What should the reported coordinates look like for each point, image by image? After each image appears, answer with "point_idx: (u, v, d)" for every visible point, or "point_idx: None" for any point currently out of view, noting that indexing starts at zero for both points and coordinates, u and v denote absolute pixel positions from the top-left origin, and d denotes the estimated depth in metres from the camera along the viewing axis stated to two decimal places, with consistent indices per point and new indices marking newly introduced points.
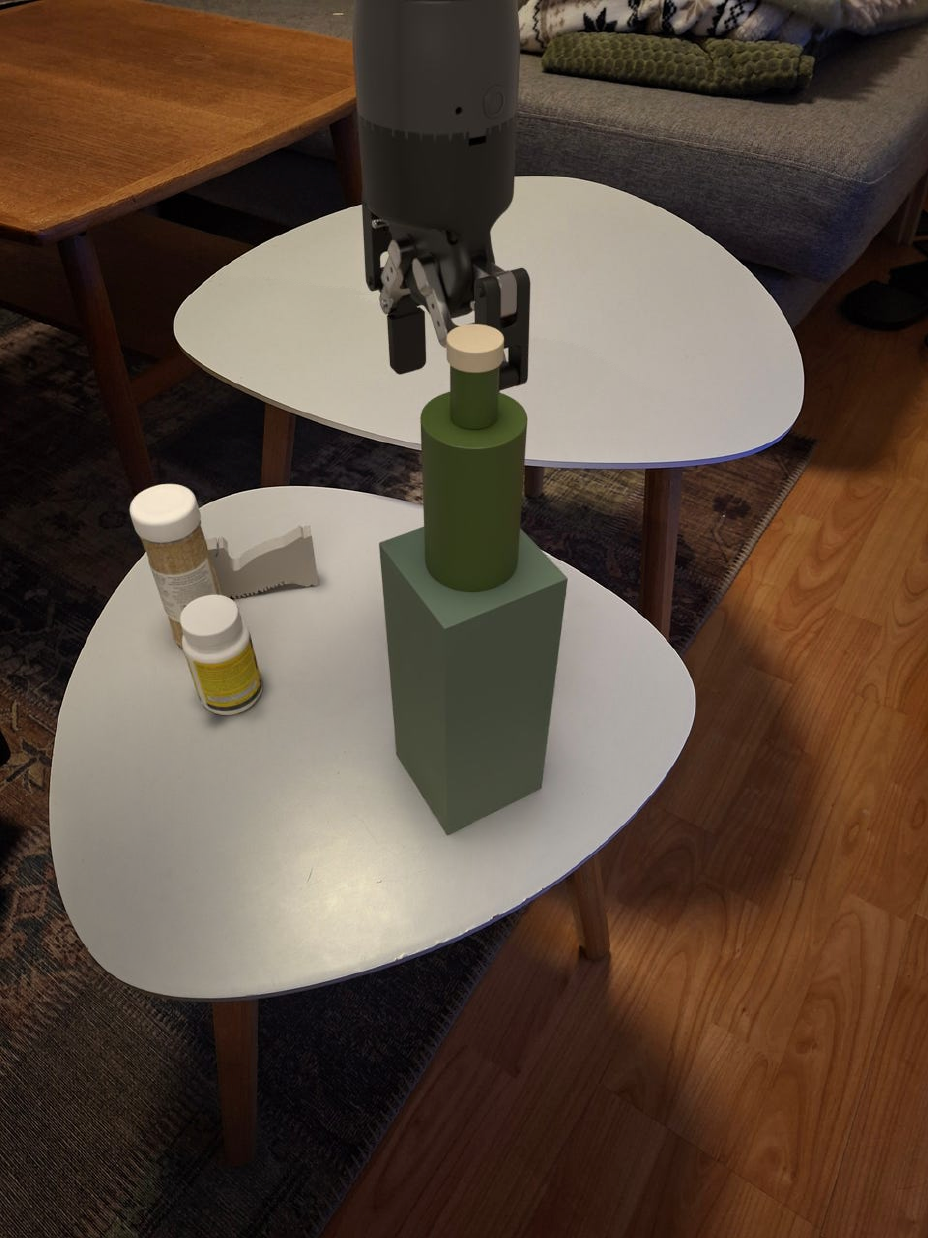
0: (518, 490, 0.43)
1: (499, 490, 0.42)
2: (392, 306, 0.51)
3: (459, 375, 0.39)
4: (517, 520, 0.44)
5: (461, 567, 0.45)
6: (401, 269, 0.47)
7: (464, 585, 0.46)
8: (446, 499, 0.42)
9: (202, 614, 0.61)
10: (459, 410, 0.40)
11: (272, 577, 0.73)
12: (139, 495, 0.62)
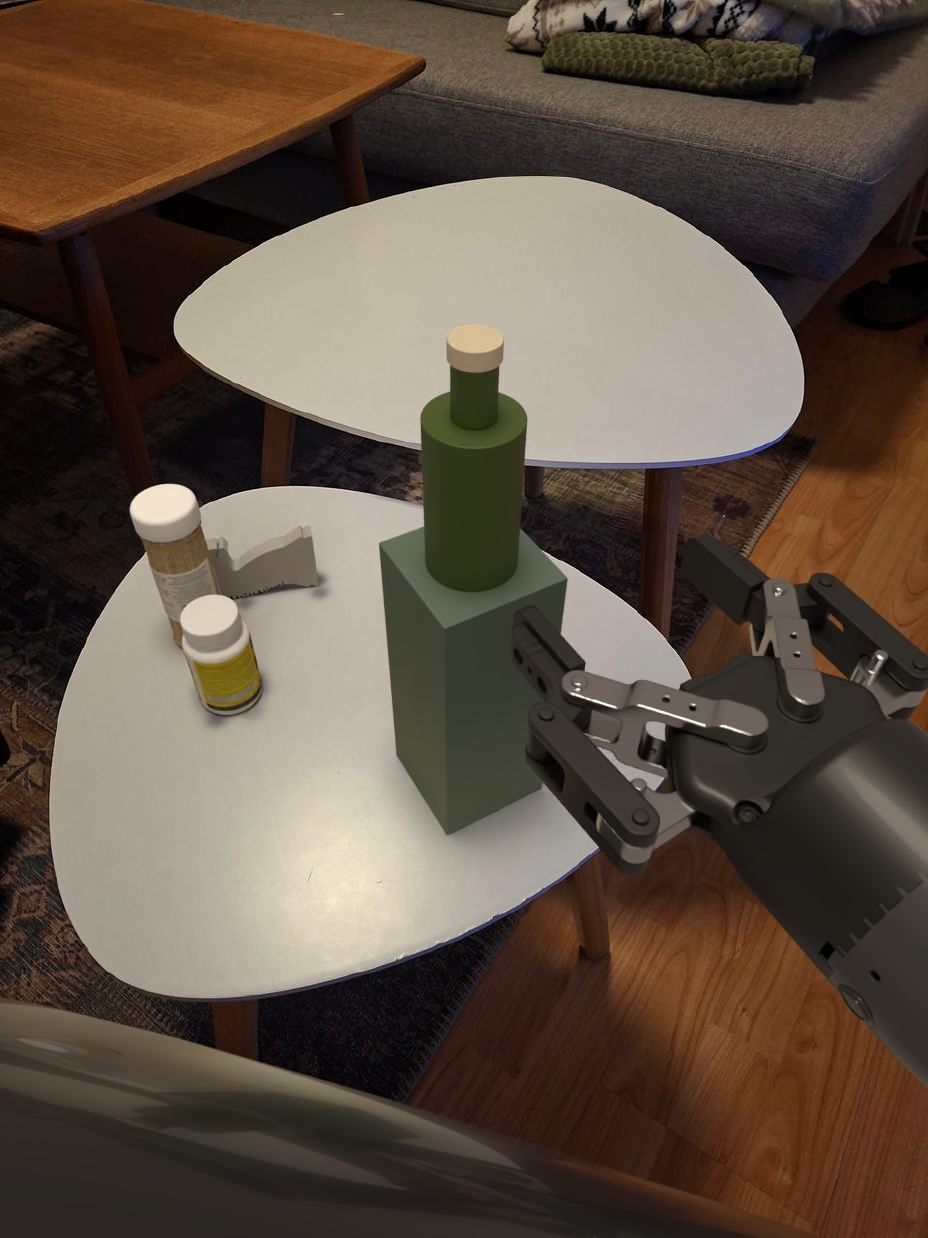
0: (518, 490, 0.43)
1: (499, 490, 0.42)
2: (764, 602, 0.34)
3: (459, 375, 0.39)
4: (517, 520, 0.44)
5: (461, 567, 0.45)
6: (782, 676, 0.30)
7: (464, 585, 0.46)
8: (446, 499, 0.42)
9: (202, 614, 0.61)
10: (459, 410, 0.40)
11: (272, 577, 0.73)
12: (139, 495, 0.62)
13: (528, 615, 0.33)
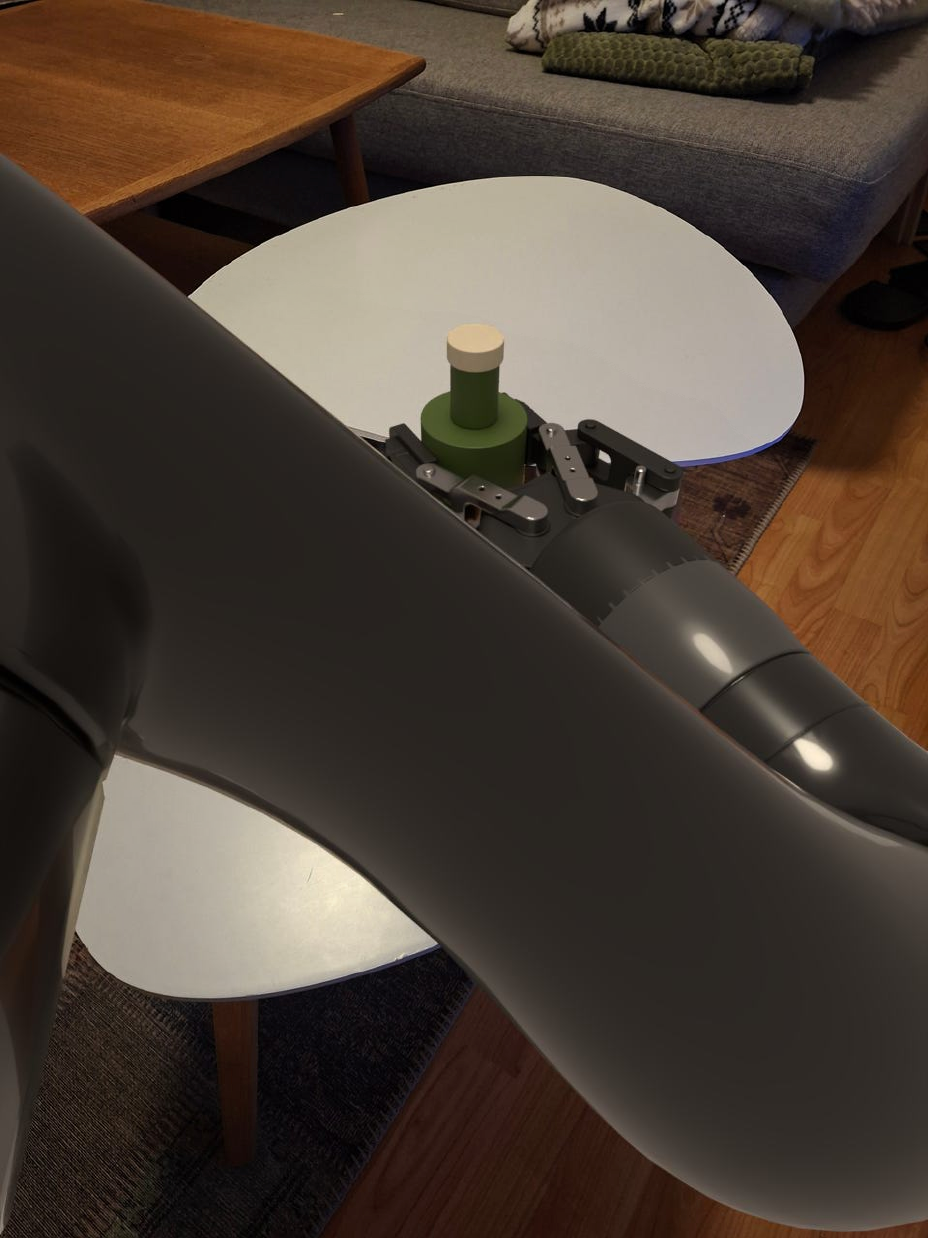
0: None
1: None
2: (542, 441, 0.41)
3: (459, 375, 0.39)
4: None
5: None
6: (564, 487, 0.38)
7: None
8: (446, 499, 0.42)
9: None
10: (459, 410, 0.40)
11: None
12: None
13: (398, 429, 0.42)
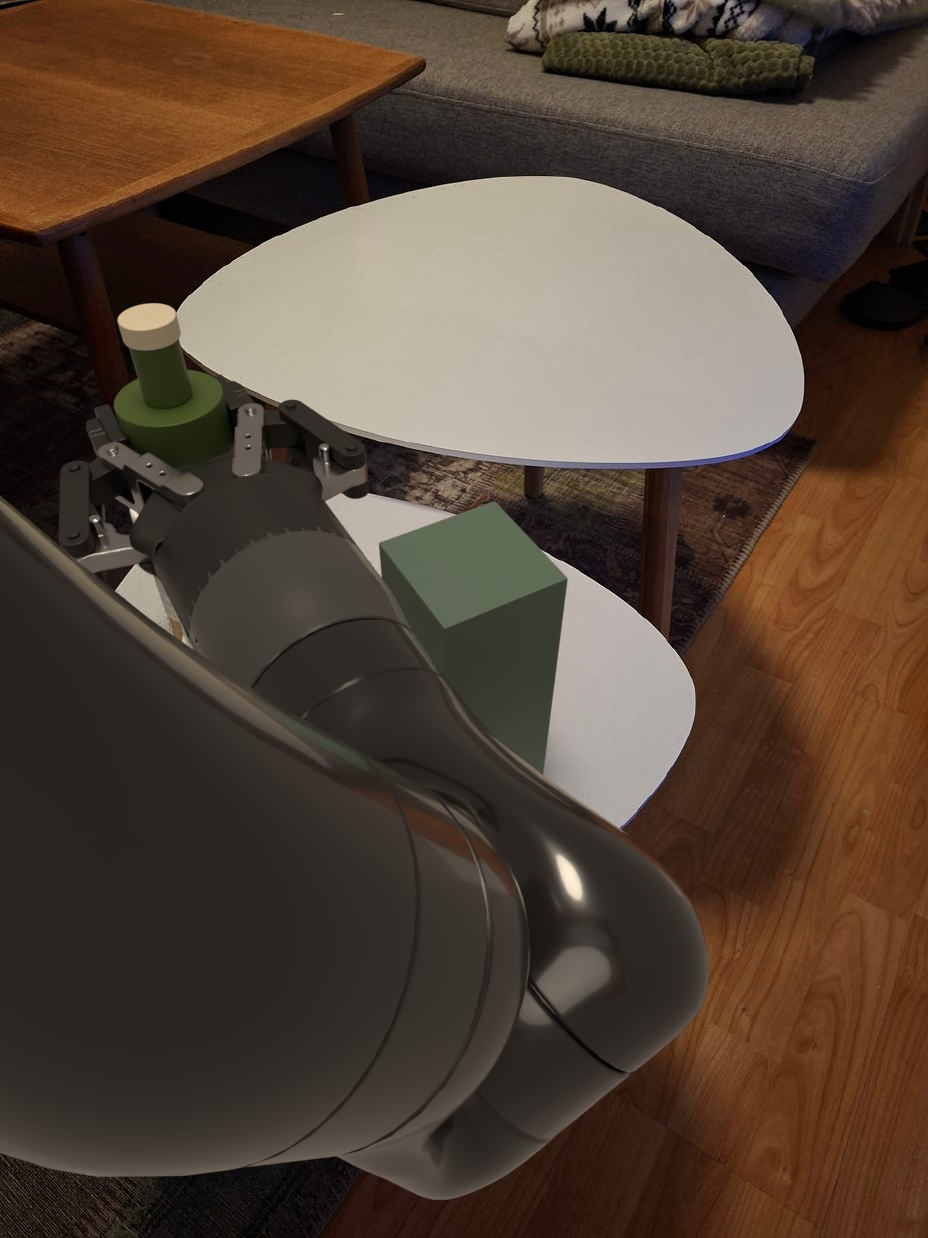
0: None
1: None
2: (237, 421, 0.42)
3: (134, 353, 0.39)
4: None
5: None
6: None
7: None
8: None
9: None
10: (144, 389, 0.40)
11: None
12: None
13: (99, 410, 0.42)
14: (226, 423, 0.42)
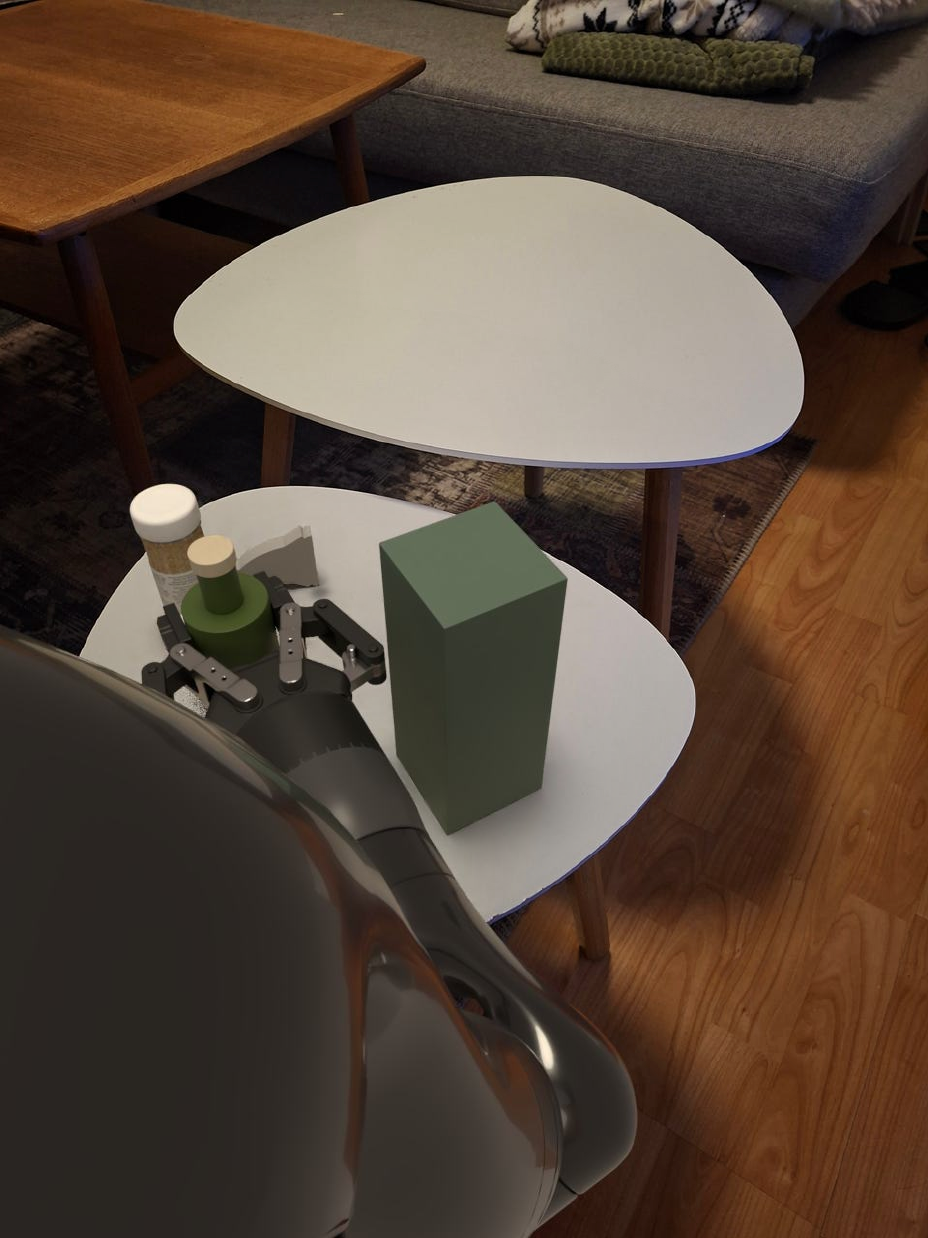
0: None
1: (246, 659, 0.52)
2: (280, 621, 0.51)
3: (200, 577, 0.49)
4: None
5: None
6: None
7: None
8: None
9: None
10: (206, 600, 0.50)
11: None
12: (139, 495, 0.62)
13: (167, 609, 0.52)
14: (270, 620, 0.52)
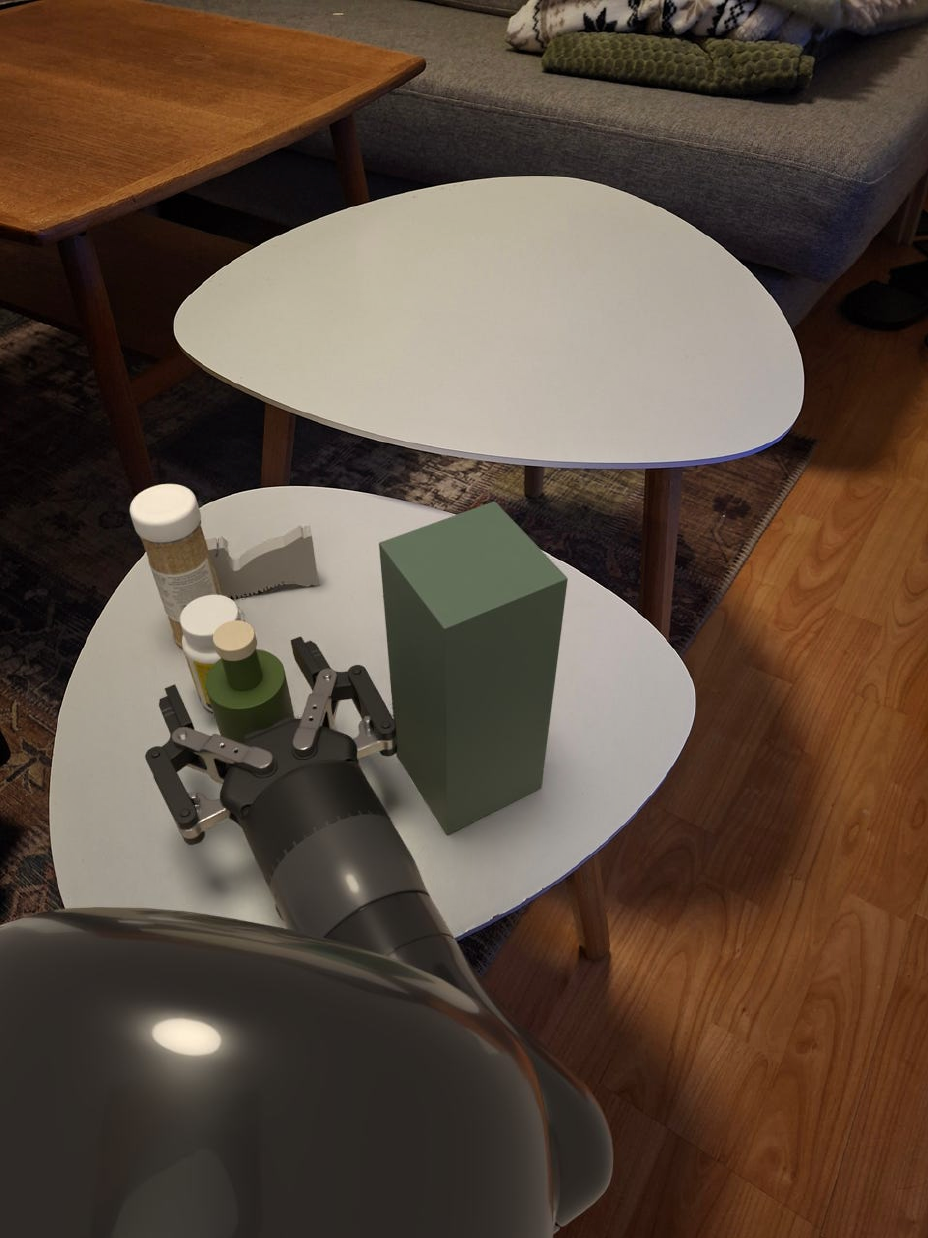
0: None
1: None
2: (315, 684, 0.56)
3: (224, 660, 0.54)
4: None
5: None
6: None
7: None
8: (228, 734, 0.57)
9: (202, 614, 0.61)
10: (229, 678, 0.55)
11: (272, 577, 0.73)
12: (139, 495, 0.62)
13: (169, 691, 0.55)
14: (286, 693, 0.57)
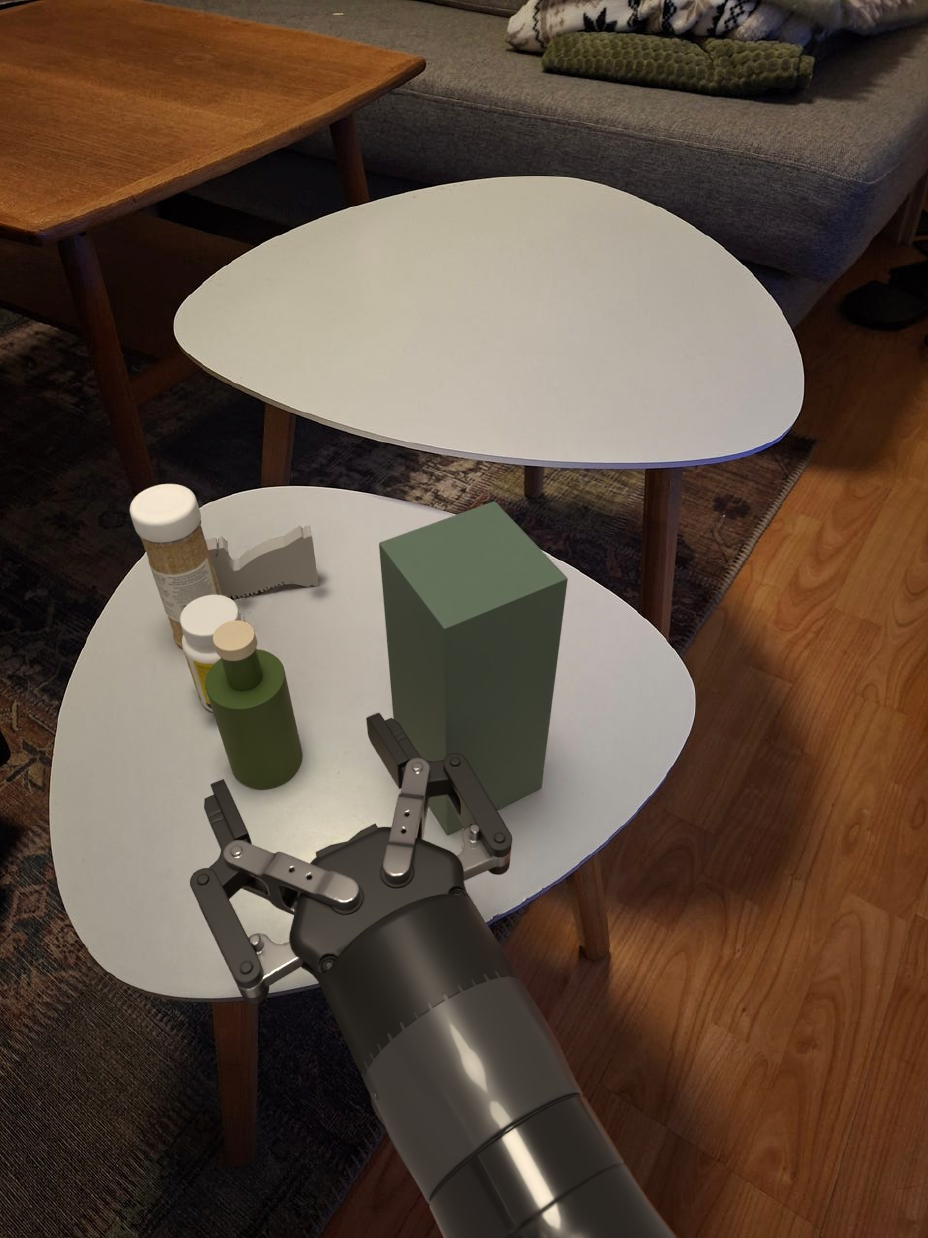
0: (284, 725, 0.58)
1: (265, 730, 0.56)
2: (403, 779, 0.44)
3: (224, 660, 0.54)
4: (289, 741, 0.59)
5: (249, 775, 0.60)
6: None
7: (254, 785, 0.61)
8: (228, 734, 0.57)
9: (202, 614, 0.61)
10: (229, 678, 0.55)
11: (272, 577, 0.73)
12: (139, 495, 0.62)
13: (217, 789, 0.43)
14: (286, 693, 0.57)
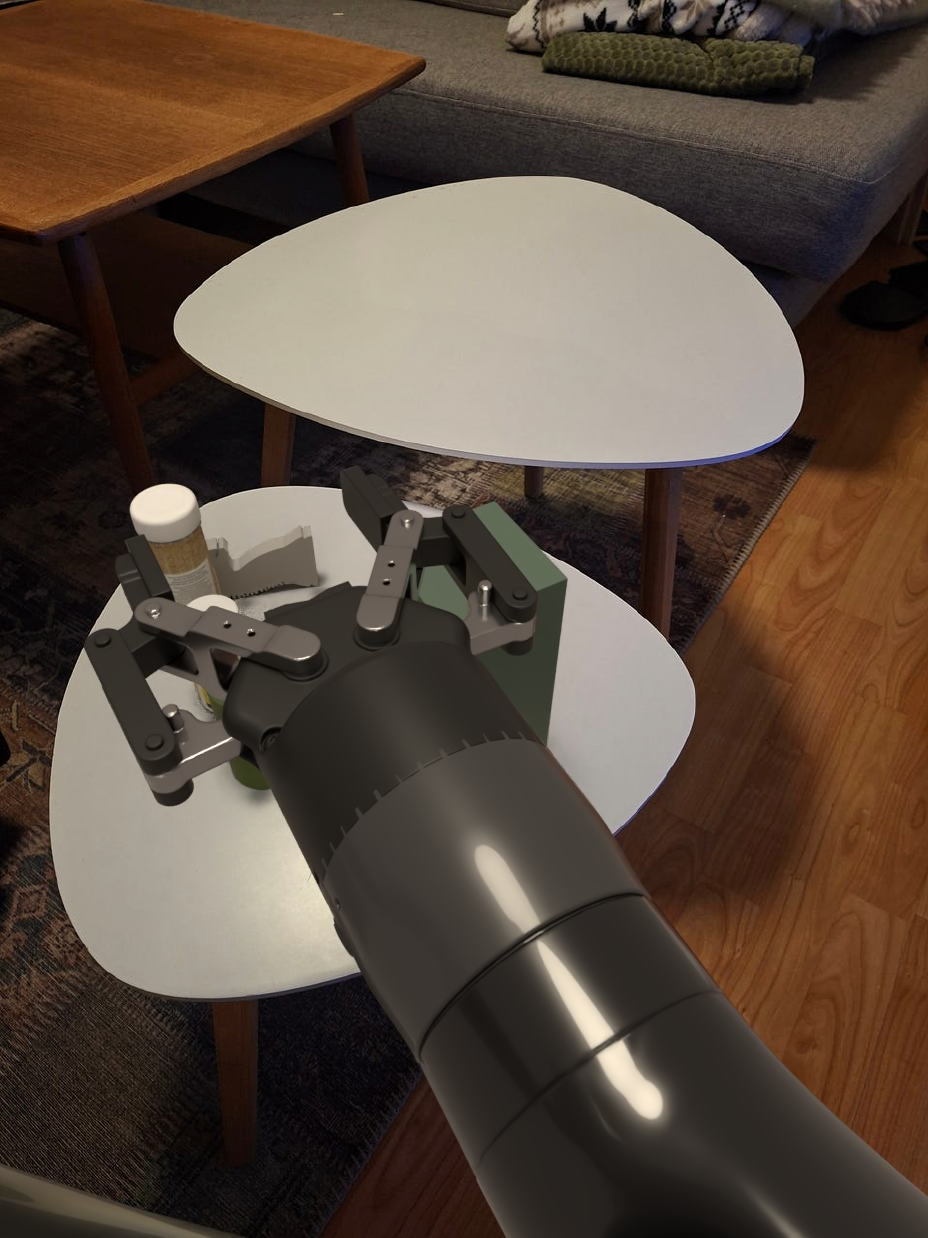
0: None
1: None
2: None
3: None
4: None
5: (249, 775, 0.60)
6: None
7: (254, 785, 0.61)
8: None
9: None
10: None
11: (272, 577, 0.73)
12: (139, 495, 0.62)
13: (133, 544, 0.32)
14: None
